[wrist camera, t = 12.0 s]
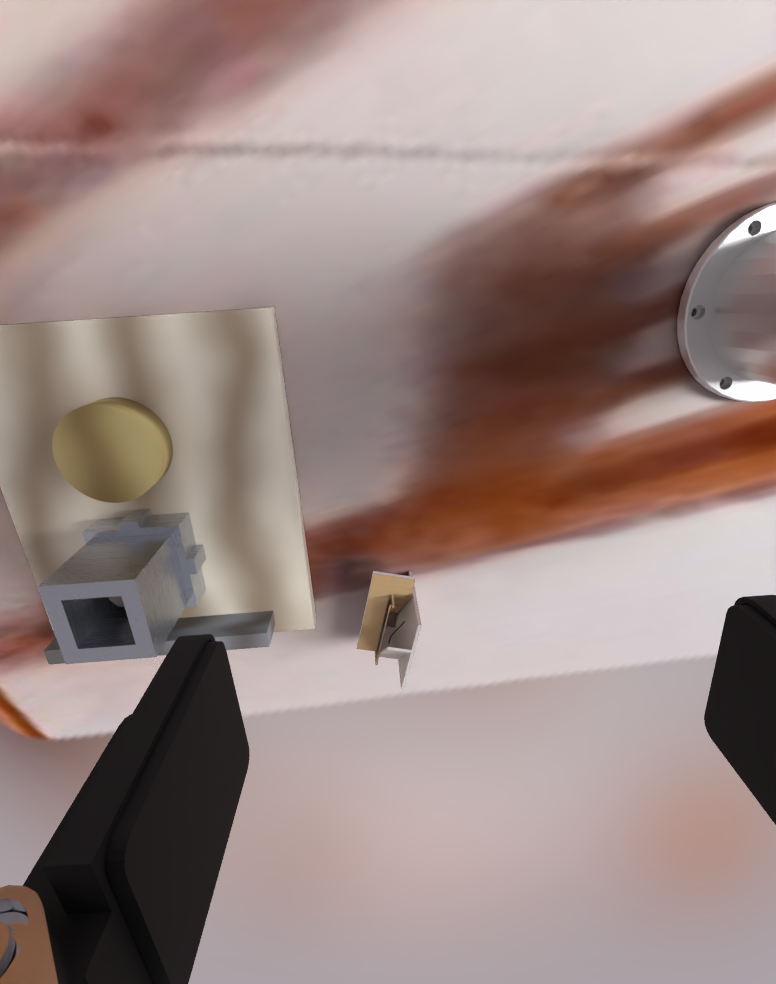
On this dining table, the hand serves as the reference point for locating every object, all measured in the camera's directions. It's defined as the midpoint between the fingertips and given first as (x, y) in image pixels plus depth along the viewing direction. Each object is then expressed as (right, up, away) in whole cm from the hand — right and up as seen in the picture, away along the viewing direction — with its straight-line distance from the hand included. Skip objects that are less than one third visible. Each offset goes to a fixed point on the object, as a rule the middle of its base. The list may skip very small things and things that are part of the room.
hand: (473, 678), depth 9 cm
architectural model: (-1, -5, +32) cm, 32 cm away
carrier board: (-18, +4, +27) cm, 33 cm away
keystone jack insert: (-19, -1, +27) cm, 33 cm away
